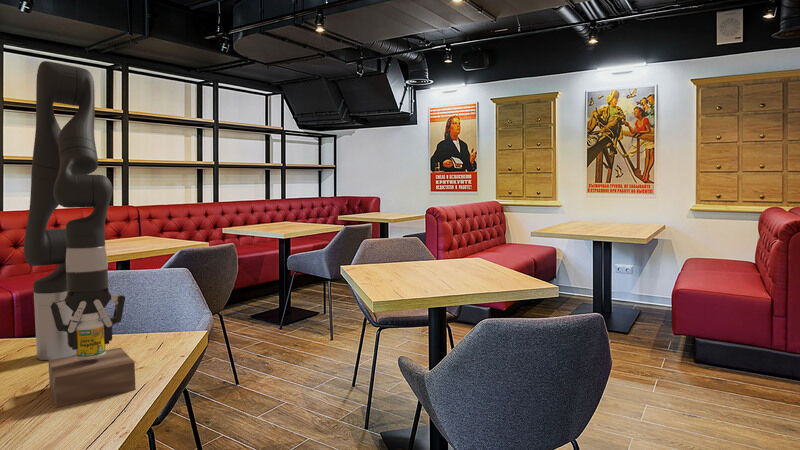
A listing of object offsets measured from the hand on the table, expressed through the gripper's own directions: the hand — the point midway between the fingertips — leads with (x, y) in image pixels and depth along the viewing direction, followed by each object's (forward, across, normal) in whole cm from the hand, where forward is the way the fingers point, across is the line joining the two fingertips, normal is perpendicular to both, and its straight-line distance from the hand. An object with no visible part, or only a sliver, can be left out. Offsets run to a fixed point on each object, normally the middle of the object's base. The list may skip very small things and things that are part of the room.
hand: (90, 345), depth 108 cm
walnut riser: (+9, 0, 0) cm, 9 cm away
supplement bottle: (+3, 0, 0) cm, 3 cm away
